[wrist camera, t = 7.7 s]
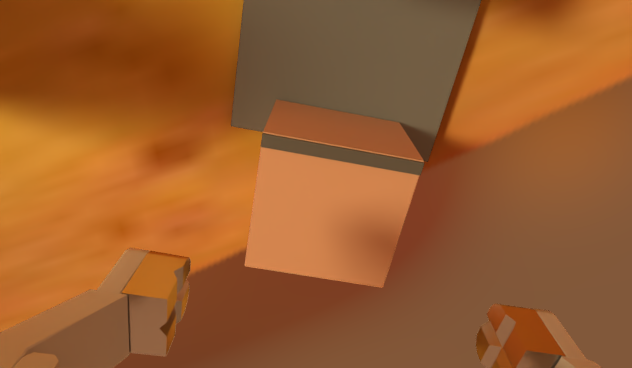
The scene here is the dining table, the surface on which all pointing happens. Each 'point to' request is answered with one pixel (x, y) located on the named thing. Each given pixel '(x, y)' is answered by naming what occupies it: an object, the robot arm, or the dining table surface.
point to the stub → (330, 194)
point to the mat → (353, 59)
